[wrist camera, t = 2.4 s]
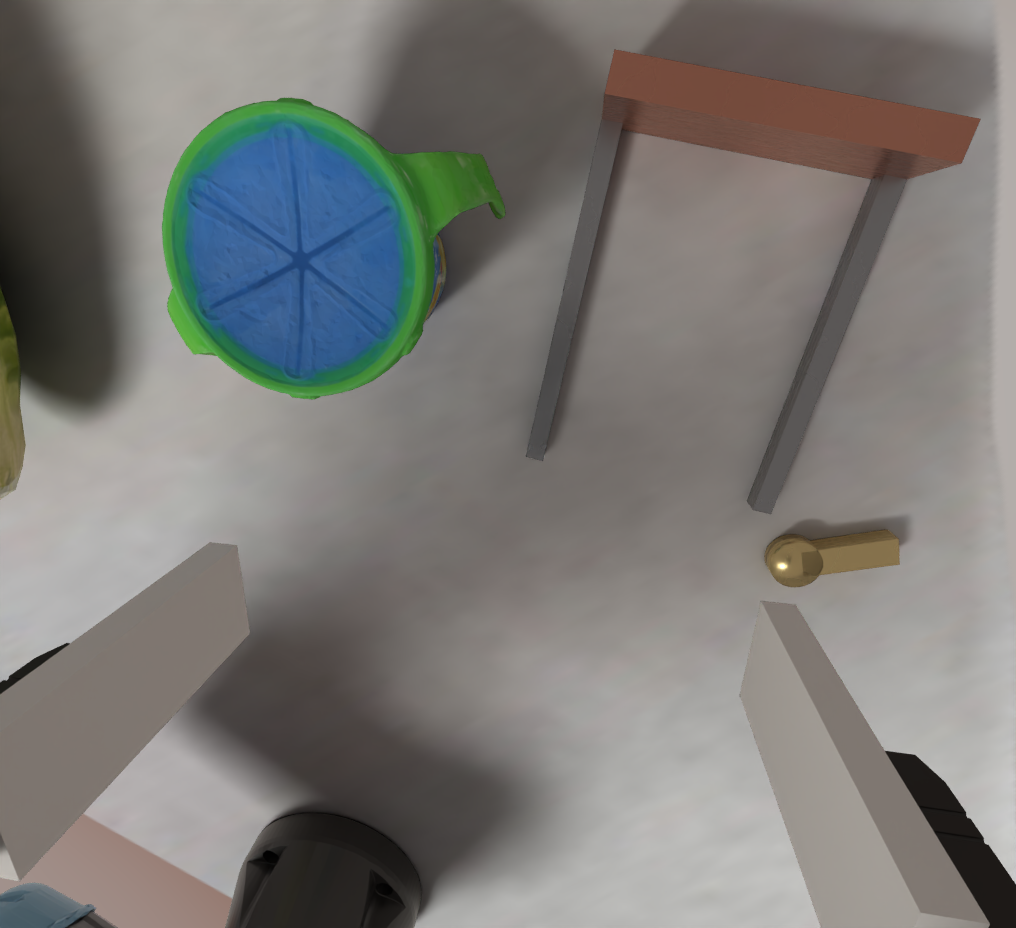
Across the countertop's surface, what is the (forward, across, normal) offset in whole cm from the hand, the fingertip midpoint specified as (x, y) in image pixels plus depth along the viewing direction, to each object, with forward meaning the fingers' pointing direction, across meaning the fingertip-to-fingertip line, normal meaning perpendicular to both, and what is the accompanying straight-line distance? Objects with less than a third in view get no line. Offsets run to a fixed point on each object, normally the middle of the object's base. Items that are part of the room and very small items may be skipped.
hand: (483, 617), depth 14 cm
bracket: (+19, +8, +5) cm, 21 cm away
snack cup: (+20, -9, +8) cm, 23 cm away
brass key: (+19, +18, -6) cm, 27 cm away
